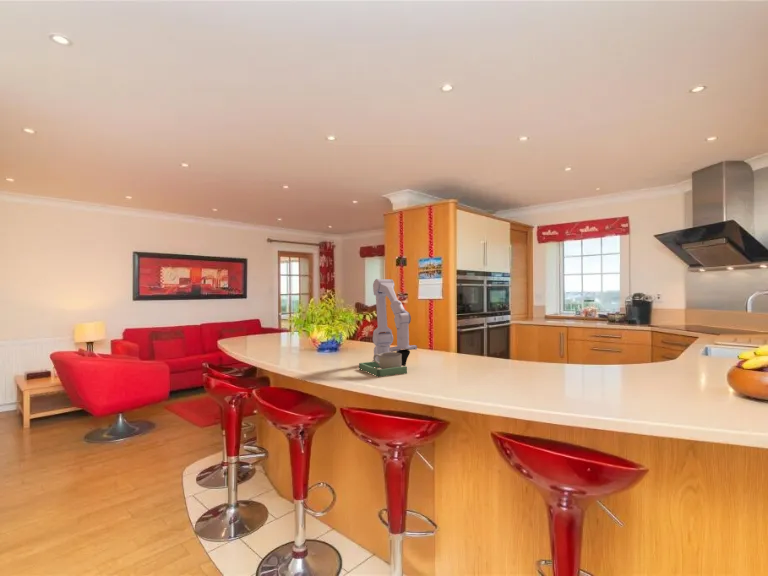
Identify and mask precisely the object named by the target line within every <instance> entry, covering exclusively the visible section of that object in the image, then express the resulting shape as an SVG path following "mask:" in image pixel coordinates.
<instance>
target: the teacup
mask: <svg viewBox="0 0 768 576" xmlns="http://www.w3.org/2000/svg"><path fill="white" fill-rule="evenodd" d="M376 356H378V357H379V362H378V361H377V360H376ZM372 360H374V361H375V362H376V363H377V364H378V365H379V366H380V369H387V368H395V367H402V354H401V353H397V351H394V352H386V353H381V354H375V355H374V354H373V357H372Z"/></svg>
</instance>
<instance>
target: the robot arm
mask: <svg viewBox="0 0 768 576" xmlns="http://www.w3.org/2000/svg"><path fill="white" fill-rule="evenodd" d="M372 291H373V295H374V296H375V306H376V307H375V308H376V318H377V319H376V321H377V327H376V328H375V329H374V330H373V333H372V343H373V344H374V348H373V356H374V355H375V354H381V353H386V352H397V353H401V354H402V365H401V367H403V366H406V367H407V361H408V358H409V355H410V354H411V351H413V350H416V351H417V350H418V345H415V344H413V345H412V344H411V345H410V331H409V329H410V327H409V326H410V324H411V321H412V316H411V314H410V312H408V311H407V310H406V309H405V307H404V305H403V303H402V301H401V300H398V297H397V295H396V292H395V281H394V280H393V279H392V278H390V279H389V278H388V279H387V278H386V279H385V278H384V279H383V278H381V279H380V278H379V279H378V278H376V279H374V281H373V283H372ZM386 297H387V298H388V299H389V301H390V303H391V304H390V308H391V310H392V312H393V315H394V317H393V318H394V323H395V324H394V325H395V328H396V346H391V345H392V343H394V335H393V330H392V328H390V327H388V319H387V318H388V317H387V303H386ZM410 350H411V351H410ZM376 360H377V361H379V357H378V356H376ZM373 361H374V359H372V362H373Z"/></svg>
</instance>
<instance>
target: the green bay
mask: <svg viewBox="0 0 768 576" xmlns="http://www.w3.org/2000/svg"><path fill="white" fill-rule="evenodd" d="M378 362H379V361H378ZM374 367H380V366H379V365H378V364H377V363H376V362H375V361H374V362H373V361H366V362H359V363H358V369H359V368H360V369H362V370H364V371H367V372H369V373H371V374H370V375H372V374H374V375H376V376H375V377H377V376H382V377H387V376H386V375H390V376H396V375H395V374H398V375H405V374H408V366H407V365H406V366H401V367H395V368H387V369H381V367H380V368H374ZM362 370H361V371H362ZM364 371H363V372H364ZM367 372H366V373H367ZM369 373H368V374H369ZM404 373H405V374H404ZM374 375H373V376H374Z"/></svg>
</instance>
